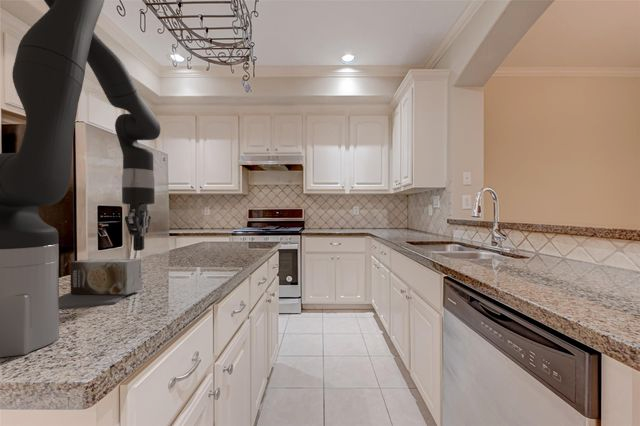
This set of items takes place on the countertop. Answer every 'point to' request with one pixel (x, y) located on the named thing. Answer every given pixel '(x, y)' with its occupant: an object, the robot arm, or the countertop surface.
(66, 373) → the countertop surface
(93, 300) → the mat
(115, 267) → the coffee box
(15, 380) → the countertop surface
